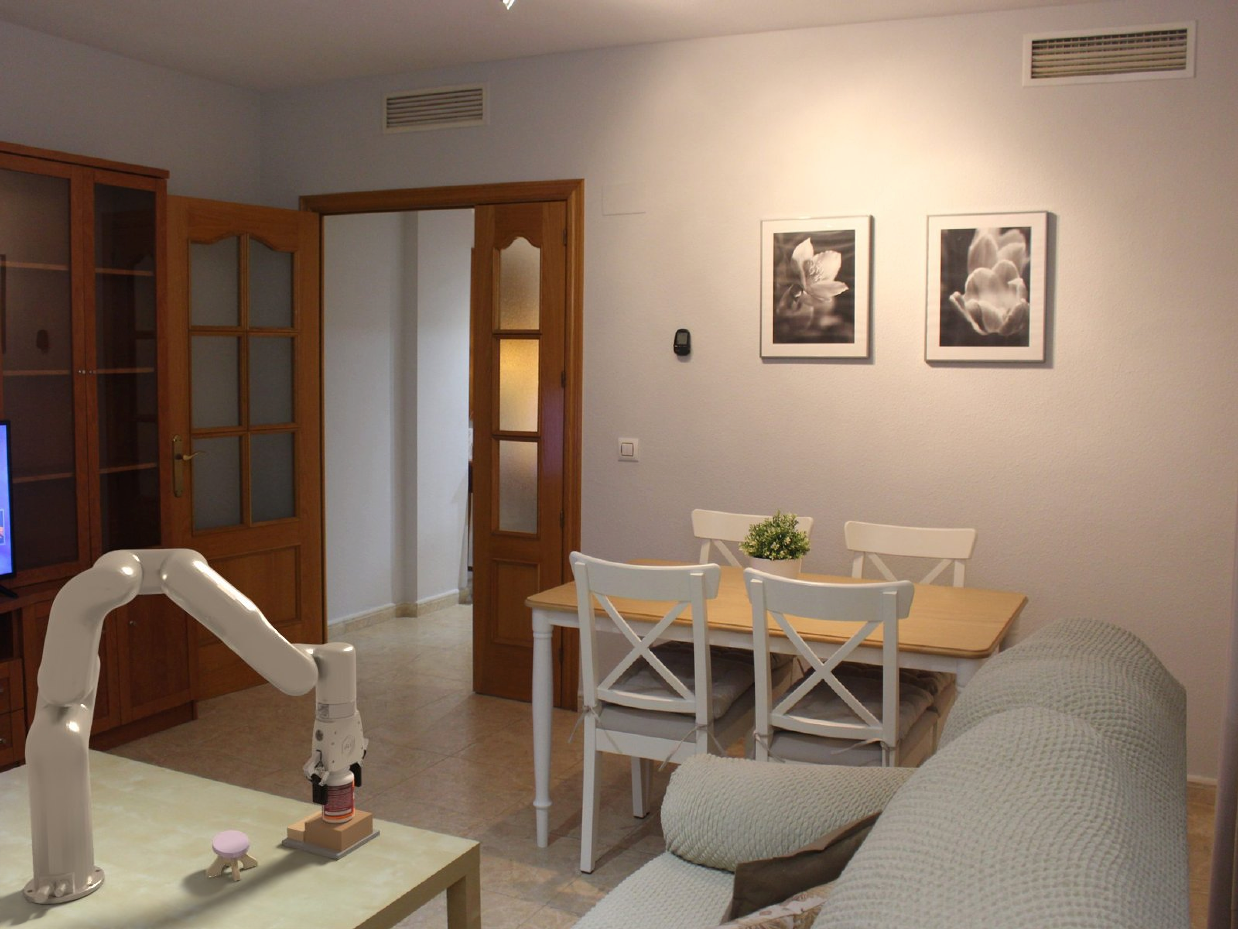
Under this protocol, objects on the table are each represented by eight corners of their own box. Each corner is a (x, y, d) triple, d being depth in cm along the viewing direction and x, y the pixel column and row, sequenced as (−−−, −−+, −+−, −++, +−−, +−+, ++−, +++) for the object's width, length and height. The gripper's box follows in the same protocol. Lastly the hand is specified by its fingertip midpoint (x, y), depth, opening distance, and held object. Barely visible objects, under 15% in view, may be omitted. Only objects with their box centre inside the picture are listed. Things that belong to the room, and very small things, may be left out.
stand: (379, 834, 208) (379, 811, 208) (338, 860, 198) (338, 835, 197) (324, 821, 215) (324, 798, 214) (281, 844, 204) (281, 820, 203)
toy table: (206, 863, 196) (205, 833, 196) (257, 855, 200) (256, 826, 199) (205, 887, 187) (204, 856, 187) (259, 879, 190) (258, 848, 190)
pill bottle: (361, 818, 205) (359, 762, 204) (332, 827, 200) (330, 771, 199) (344, 808, 209) (343, 754, 208) (316, 817, 205) (314, 762, 204)
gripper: (320, 724, 193) (321, 815, 195) (380, 698, 209) (381, 782, 210) (289, 718, 197) (290, 807, 198) (351, 693, 212) (352, 775, 214)
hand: (337, 794), depth 204 cm, fingers open, 9 cm apart
